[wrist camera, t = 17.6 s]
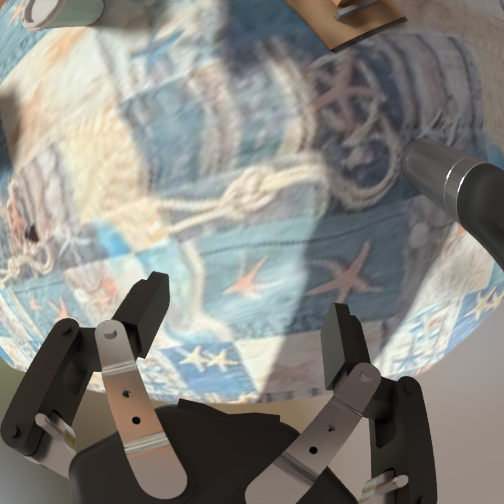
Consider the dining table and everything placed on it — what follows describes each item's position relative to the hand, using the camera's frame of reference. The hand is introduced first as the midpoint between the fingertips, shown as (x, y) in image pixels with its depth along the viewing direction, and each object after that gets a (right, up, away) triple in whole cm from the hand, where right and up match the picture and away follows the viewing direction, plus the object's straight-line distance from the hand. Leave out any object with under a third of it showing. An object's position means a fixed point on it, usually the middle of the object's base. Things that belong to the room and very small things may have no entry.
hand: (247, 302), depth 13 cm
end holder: (+13, +42, +12) cm, 46 cm away
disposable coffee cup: (-29, +47, +14) cm, 57 cm away
